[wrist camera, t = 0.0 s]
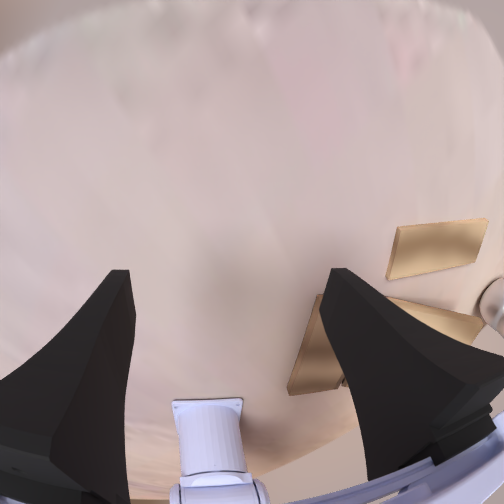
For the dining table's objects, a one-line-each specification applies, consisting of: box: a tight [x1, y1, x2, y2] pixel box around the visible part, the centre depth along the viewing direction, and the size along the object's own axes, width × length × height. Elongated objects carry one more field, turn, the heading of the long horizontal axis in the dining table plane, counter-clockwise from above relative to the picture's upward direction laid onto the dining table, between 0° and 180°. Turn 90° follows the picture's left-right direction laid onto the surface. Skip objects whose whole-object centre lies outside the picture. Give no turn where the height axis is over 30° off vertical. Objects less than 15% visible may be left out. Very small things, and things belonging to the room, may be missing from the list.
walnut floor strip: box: [287, 294, 344, 396], centre depth 30 cm, size 14×6×1 cm, turn 174°
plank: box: [386, 218, 489, 280], centre depth 26 cm, size 5×12×1 cm, turn 92°
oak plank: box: [342, 296, 484, 387], centre depth 29 cm, size 13×12×1 cm
